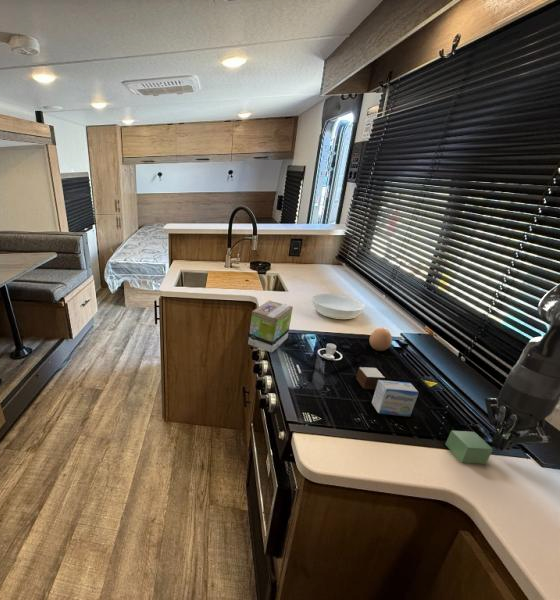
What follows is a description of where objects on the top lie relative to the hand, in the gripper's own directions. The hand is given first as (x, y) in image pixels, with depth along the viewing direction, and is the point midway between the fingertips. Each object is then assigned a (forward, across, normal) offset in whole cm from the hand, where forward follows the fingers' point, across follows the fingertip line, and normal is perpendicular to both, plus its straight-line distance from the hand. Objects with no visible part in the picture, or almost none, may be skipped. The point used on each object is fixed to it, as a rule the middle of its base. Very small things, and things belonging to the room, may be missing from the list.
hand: (499, 448), depth 70 cm
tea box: (+4, +50, +40) cm, 64 cm away
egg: (+3, +47, +1) cm, 47 cm away
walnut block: (+3, +25, +15) cm, 29 cm away
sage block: (+3, 0, +6) cm, 7 cm away
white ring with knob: (+3, +42, +23) cm, 48 cm away
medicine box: (+3, +14, +15) cm, 21 cm away
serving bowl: (+3, +78, +4) cm, 78 cm away
